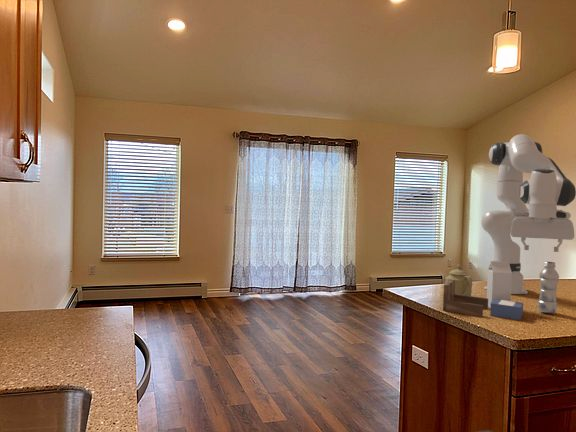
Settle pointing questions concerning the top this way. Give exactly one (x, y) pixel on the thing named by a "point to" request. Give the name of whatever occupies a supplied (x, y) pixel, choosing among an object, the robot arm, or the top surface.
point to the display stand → (462, 301)
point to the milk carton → (499, 281)
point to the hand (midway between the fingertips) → (541, 250)
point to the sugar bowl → (460, 281)
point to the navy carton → (506, 309)
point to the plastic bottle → (548, 288)
